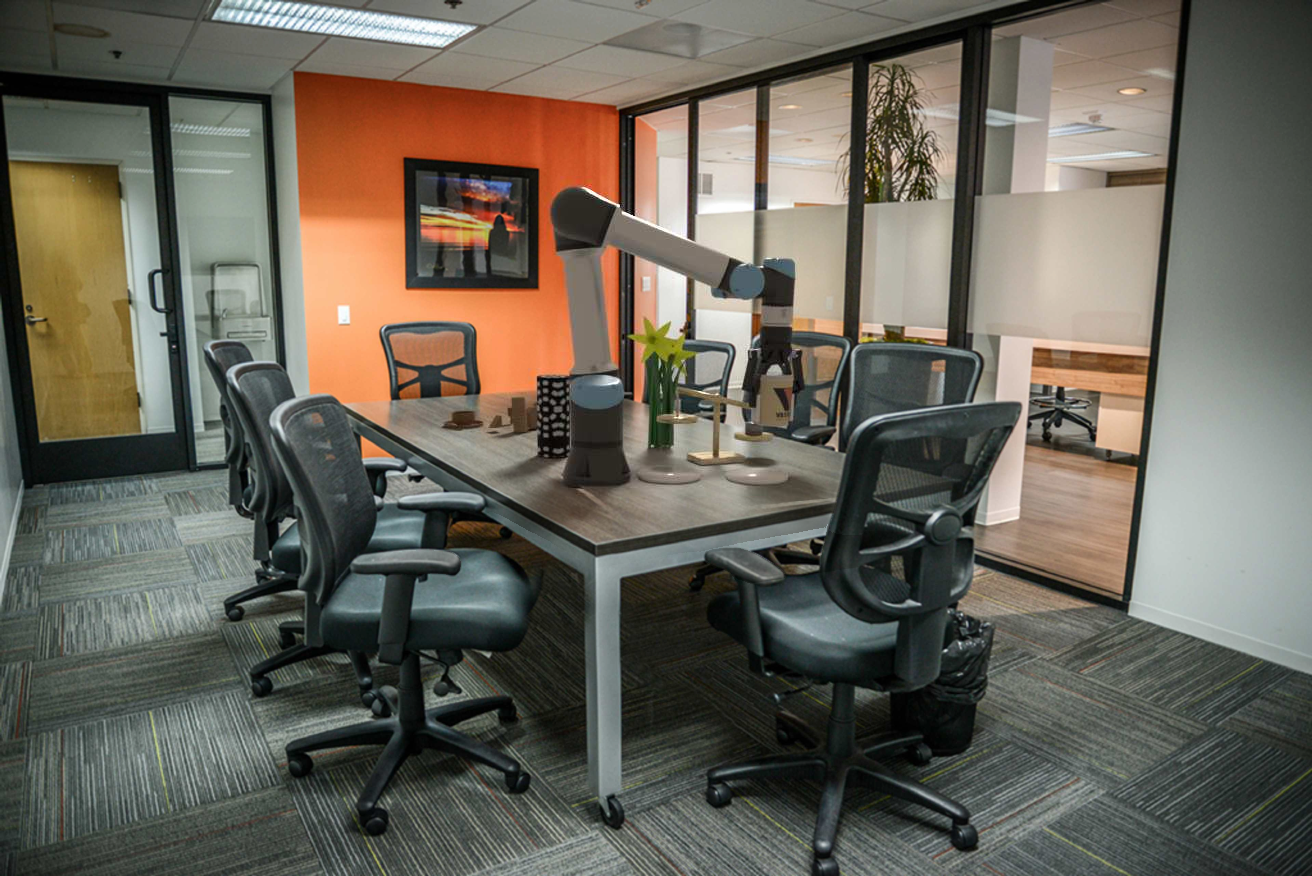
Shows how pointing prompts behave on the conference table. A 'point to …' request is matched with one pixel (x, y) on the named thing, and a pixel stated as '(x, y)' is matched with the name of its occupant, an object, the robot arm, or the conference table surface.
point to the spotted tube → (553, 415)
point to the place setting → (467, 420)
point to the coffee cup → (775, 399)
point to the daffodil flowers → (661, 378)
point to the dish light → (669, 475)
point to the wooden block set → (519, 416)
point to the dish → (756, 476)
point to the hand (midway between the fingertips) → (772, 420)
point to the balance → (716, 429)
